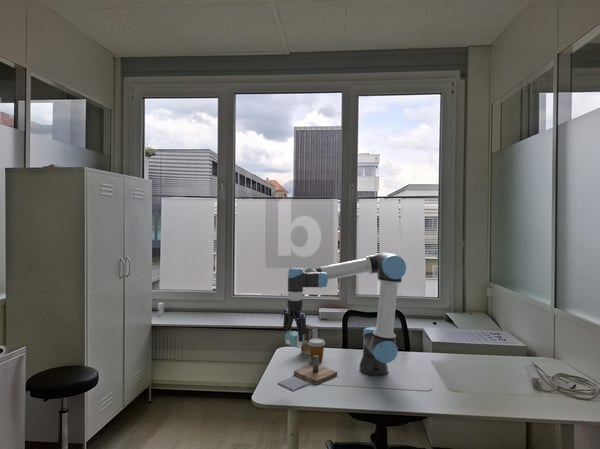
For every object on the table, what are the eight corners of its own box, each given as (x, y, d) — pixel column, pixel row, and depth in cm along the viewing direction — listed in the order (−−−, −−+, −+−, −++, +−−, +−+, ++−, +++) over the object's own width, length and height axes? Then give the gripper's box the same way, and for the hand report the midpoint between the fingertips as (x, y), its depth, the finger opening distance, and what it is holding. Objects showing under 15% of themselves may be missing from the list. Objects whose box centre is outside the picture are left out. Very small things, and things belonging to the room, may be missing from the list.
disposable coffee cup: (325, 358, 229) (325, 338, 229) (324, 364, 220) (324, 343, 220) (308, 358, 230) (309, 337, 230) (307, 364, 221) (307, 342, 221)
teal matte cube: (303, 344, 194) (303, 333, 194) (292, 347, 189) (292, 336, 188) (294, 340, 198) (294, 330, 198) (283, 343, 193) (283, 333, 193)
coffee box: (318, 353, 238) (319, 327, 238) (312, 356, 233) (312, 329, 233) (307, 350, 244) (307, 324, 244) (300, 352, 239) (300, 326, 239)
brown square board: (337, 375, 205) (337, 356, 205) (316, 384, 194) (316, 364, 194) (314, 366, 217) (314, 348, 216) (293, 374, 205) (294, 355, 205)
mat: (309, 384, 194) (309, 383, 194) (293, 391, 186) (293, 389, 186) (293, 377, 202) (293, 376, 202) (277, 383, 194) (277, 382, 194)
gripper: (314, 301, 189) (313, 349, 190) (287, 295, 203) (286, 339, 203) (303, 303, 184) (302, 352, 184) (276, 297, 198) (275, 342, 198)
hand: (294, 345), depth 194 cm, fingers closed on teal matte cube, 6 cm apart
